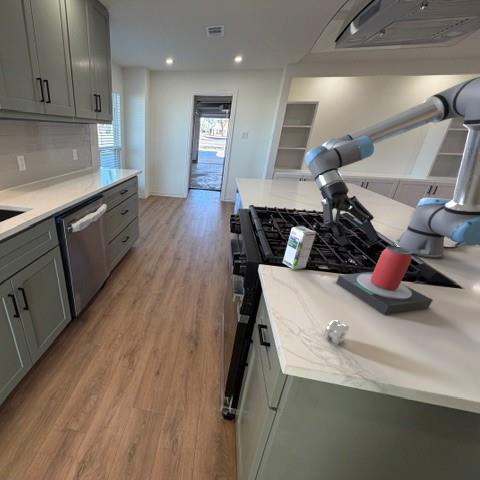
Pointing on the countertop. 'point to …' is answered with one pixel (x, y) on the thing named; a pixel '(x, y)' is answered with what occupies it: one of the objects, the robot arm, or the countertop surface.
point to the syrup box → (299, 247)
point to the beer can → (391, 267)
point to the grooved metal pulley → (336, 331)
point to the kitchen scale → (383, 294)
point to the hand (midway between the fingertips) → (360, 242)
